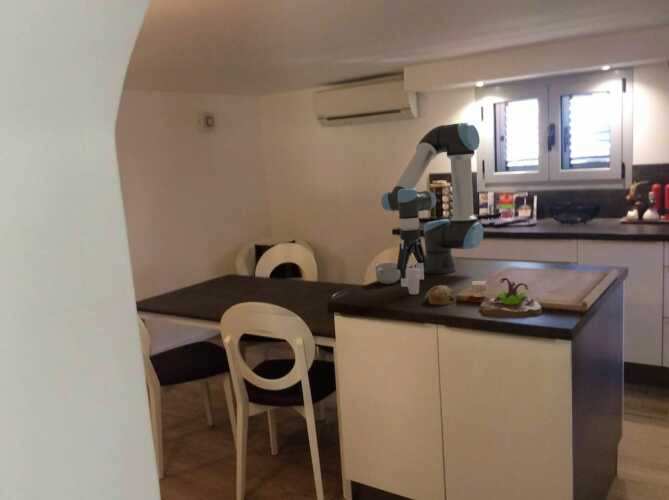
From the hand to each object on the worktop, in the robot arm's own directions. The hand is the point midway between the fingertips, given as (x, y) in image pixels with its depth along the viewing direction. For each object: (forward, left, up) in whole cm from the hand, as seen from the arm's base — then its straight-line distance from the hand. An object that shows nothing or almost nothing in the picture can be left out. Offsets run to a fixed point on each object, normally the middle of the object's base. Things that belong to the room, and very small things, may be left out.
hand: (412, 282), depth 235 cm
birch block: (-2, +26, -4) cm, 26 cm away
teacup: (-14, -20, -5) cm, 25 cm away
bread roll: (+10, +15, -5) cm, 19 cm away
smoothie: (0, 0, -4) cm, 4 cm away
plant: (+13, +43, -5) cm, 45 cm away
